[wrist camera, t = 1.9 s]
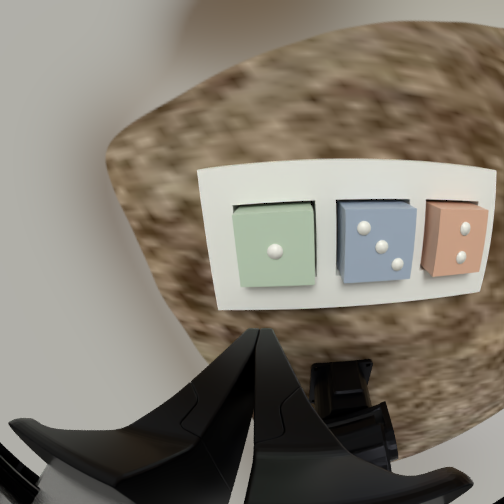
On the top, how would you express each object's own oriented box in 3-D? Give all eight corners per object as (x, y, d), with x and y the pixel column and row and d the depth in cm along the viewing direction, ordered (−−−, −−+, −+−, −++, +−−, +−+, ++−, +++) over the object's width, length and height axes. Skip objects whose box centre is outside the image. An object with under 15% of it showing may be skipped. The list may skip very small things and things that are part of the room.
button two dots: (461, 258, 18) (479, 272, 15) (417, 261, 19) (433, 277, 16) (468, 201, 17) (489, 210, 14) (422, 200, 17) (441, 209, 14)
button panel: (467, 279, 20) (479, 291, 18) (224, 294, 24) (218, 309, 22) (479, 167, 16) (496, 170, 14) (207, 167, 20) (197, 170, 18)
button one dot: (311, 266, 20) (314, 285, 18) (247, 269, 21) (240, 288, 18) (309, 201, 19) (313, 210, 16) (240, 205, 20) (231, 215, 17)
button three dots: (396, 262, 19) (410, 279, 16) (337, 265, 20) (344, 284, 17) (400, 200, 18) (417, 208, 15) (337, 200, 18) (345, 209, 16)
